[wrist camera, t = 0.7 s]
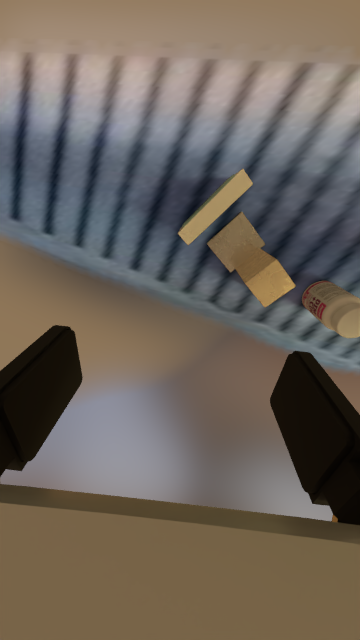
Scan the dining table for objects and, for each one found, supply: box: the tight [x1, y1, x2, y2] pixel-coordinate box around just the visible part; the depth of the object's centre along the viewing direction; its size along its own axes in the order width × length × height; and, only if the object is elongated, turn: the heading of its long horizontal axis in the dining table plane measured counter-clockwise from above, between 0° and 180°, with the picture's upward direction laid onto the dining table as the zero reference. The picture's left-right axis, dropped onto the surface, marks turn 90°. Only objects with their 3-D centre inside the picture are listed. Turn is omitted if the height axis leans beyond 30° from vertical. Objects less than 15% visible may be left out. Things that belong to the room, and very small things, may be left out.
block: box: [178, 169, 253, 245], centre depth 24 cm, size 2×8×7 cm, turn 133°
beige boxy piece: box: [207, 212, 296, 307], centre depth 26 cm, size 9×6×7 cm, turn 43°
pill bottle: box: [302, 281, 360, 338], centre depth 28 cm, size 5×5×8 cm
